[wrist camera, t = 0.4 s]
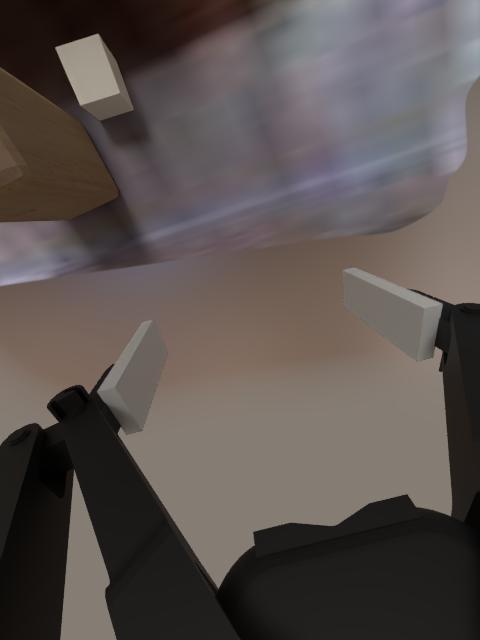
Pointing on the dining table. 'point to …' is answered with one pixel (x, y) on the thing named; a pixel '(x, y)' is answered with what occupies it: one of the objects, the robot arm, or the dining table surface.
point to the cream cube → (95, 77)
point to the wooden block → (46, 159)
